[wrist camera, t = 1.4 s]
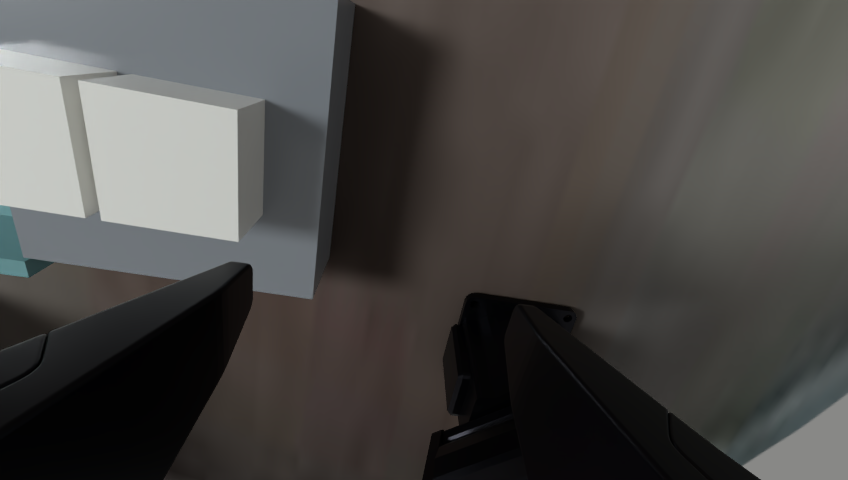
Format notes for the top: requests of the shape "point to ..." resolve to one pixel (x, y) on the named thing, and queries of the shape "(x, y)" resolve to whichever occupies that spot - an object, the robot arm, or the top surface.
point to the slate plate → (224, 71)
